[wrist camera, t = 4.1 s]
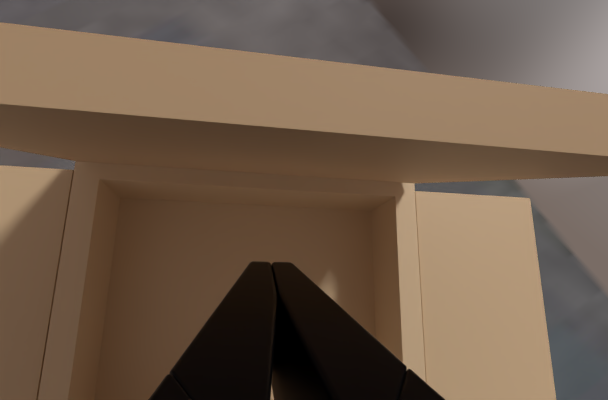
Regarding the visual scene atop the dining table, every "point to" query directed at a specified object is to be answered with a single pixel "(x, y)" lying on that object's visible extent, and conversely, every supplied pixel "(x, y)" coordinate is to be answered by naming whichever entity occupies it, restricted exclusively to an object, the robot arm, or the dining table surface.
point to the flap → (284, 113)
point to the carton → (258, 247)
